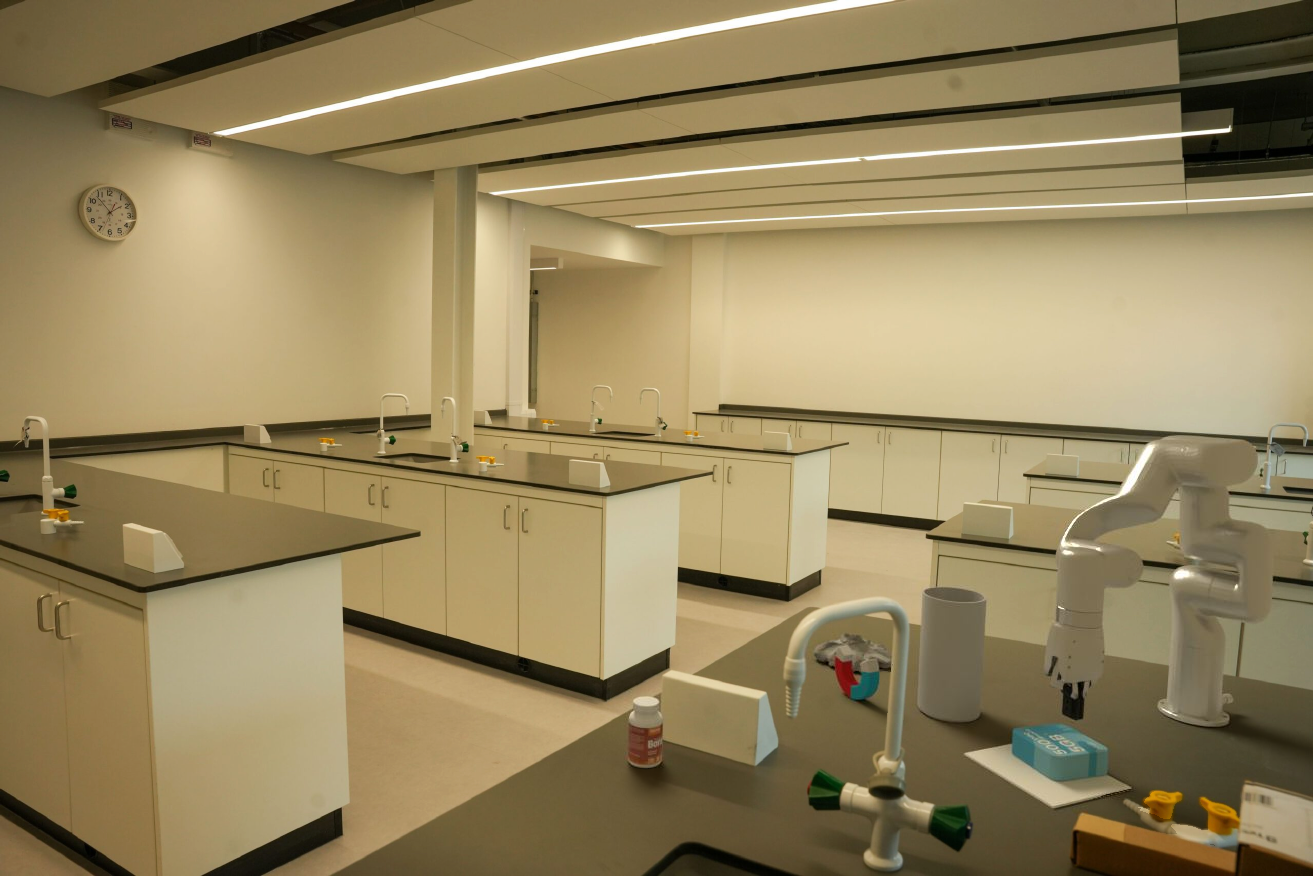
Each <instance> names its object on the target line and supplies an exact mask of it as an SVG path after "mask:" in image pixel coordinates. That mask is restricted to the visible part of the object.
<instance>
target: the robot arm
mask: <svg viewBox="0 0 1313 876" xmlns="http://www.w3.org/2000/svg"><path fill="white" fill-rule="evenodd" d="M1258 463H1259V456H1258V452H1257V451H1256V448H1255V445H1253V444H1252V443H1251V442H1249V441H1247V440H1245V439H1240V438H1239V439H1237V438H1223V437H1210V436H1200V435H1183V434H1182V435H1180V434H1179V435H1169V436H1165V437H1162V438H1161V439H1155V440H1152V441H1150V442H1147V443H1146V444H1145V445H1144V446H1143V448H1142V449H1141V451H1140V452H1139V454H1138V455H1137V458H1135V459H1134V462H1133V464H1132V466H1130V469H1129V471H1128V472H1127V474H1126V476H1125V478H1124V480H1123V481H1122V483H1121V485H1120V486H1119V488H1118V490H1117V491H1116V493H1115V494H1113V495H1111V496H1110V497H1107V498H1104V499H1103V500H1101V501H1099V502H1097V503H1095V504H1094V505H1092V506H1090V507H1089V508H1087V509H1085V510H1084V511H1082V512H1081V513H1080V514H1078V515H1077V516H1076V517H1075V518H1074V519H1073V520H1072V521H1071V523H1070V524H1069V526H1068V528H1067V529H1066V531H1065V532H1064V535H1062V538H1061V539H1060V541H1059V544H1058V546H1057V549H1056V552H1055V564H1056V568H1057V578H1056V595H1055V613H1054V622H1052V623H1051V625H1050V629H1049V632H1048V635H1047V636H1048V637H1047V641H1046V648H1045V654H1044V663H1043V664H1044V666H1043V672H1044V673H1043V674H1044V675H1045V676H1047V677H1050V682H1049V686H1050V687H1051V688H1053V689H1056V690H1059V691H1060V694H1061V695H1062V703H1061V705H1062V707H1061V714H1062V715H1063V716H1065V717H1067V718H1069V719H1071V720H1074V721H1080V720H1083V719H1084V713H1085V712H1084V711H1085V700H1086V699H1085V698H1088V697H1087V696H1088V694H1089V689H1090V687H1091V686H1093V685H1094V684H1096V683H1098V682H1099V681H1100V678H1101V677H1102V676H1103V673H1104V668H1105V655H1106V654H1105V651H1106V650H1105V648H1106V647H1105V635H1104V633H1105V632H1104V627H1103V615H1104V614H1103V613H1104V601H1105V589H1127V588H1130V587H1132V586H1134V585H1135V584H1137V583H1138V582H1139V581H1140V579H1141V578H1142V576H1143V572H1144V563H1143V560H1142V557H1141V556H1140V555H1139V554H1138V553H1137V552H1136V551H1135V550H1133V549H1131V548H1128V547H1125V546H1121V545H1116V544H1110V543H1106V542H1100V541H1096V540H1097V539H1098V538H1100V537H1101V536H1103V535H1105V534H1108V533H1110V532H1113V531H1116V530H1117V531H1118V530H1122V529H1126V528H1134V527H1137V526H1142V525H1148V524H1150V523H1154V522H1157V521H1159V519H1161V518H1162V517H1163V515H1164V514H1165V512H1166V510H1167V508H1168V506H1169V505H1170V503H1171V500H1172V499H1173V497H1174V495H1175V494H1176V492H1177V491H1178V494H1179V495H1178V496H1179V517H1178V518H1179V519H1178V522H1179V523H1178V524H1179V525H1178V541H1179V542H1178V543H1179V544H1178V545H1179V550H1180V552H1181V553H1182V555H1184V556H1185V557H1186V558H1189V559H1191V560H1195V561H1199V562H1204V563H1209V564H1215V565H1218V566H1225V567H1229V568H1234V569H1236V571H1237V572H1233V571H1229V570H1225V569H1218V568H1215V567H1214V568H1213V567H1209V566H1202V565H1195V564H1194V565H1193V564H1190V565H1183V566H1179V567H1177V568H1176V569H1175V570H1173V572H1172V573H1171V575H1170V577H1169V582H1168V591H1169V597H1170V604H1171V634H1170V647H1169V648H1170V649H1169V663H1168V664H1169V665H1168V679H1167V680H1168V681H1167V691H1166V692H1167V693H1166V698H1163V699H1160V700H1159V701H1158V702H1157V710H1159V712H1161V713H1162V714H1163V715H1164V716H1166V717H1168V718H1171V719H1173V720H1176V721H1179V722H1182V723H1185V724H1189V725H1194V726H1198V727H1199V726H1201V727H1212V728H1219V727H1224V726H1227V725H1228V724H1229V723H1230V715H1229V713H1227V712H1226V711H1224V710H1223V706H1224V705H1225V704H1231V703H1233V702H1234V696H1232V694H1230V693H1223V682H1224V670H1225V669H1224V666H1225V656H1226V655H1225V654H1226V645H1227V639H1226V633H1225V629H1224V628H1223V626H1222V624H1221V622H1220V621H1219V619H1218V618H1222V619H1225V620H1230V621H1235V622H1238V623H1243V624H1250V625H1251V624H1252V625H1254V624H1255V625H1256V624H1260V623H1262V622H1264V621H1265V620H1267V618H1268V616H1269V614H1270V611H1271V608H1272V607H1271V606H1272V600H1273V579H1274V555H1275V553H1274V551H1275V549H1274V541H1273V537H1272V534H1271V532H1270V531H1269V530H1268V529H1267V528H1266V527H1265V526H1264V525H1262V524H1259V523H1257V522H1253V521H1246V520H1239V519H1232V517H1231V516H1230V493H1229V490H1228V487H1232V486H1235V485H1240V484H1244V483H1245V482H1247V481H1249V480H1250V479H1251V478H1252V477H1253V476H1254V474H1255V473H1256V470H1257V468H1258Z"/></svg>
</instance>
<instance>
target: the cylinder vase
mask: <svg viewBox="0 0 1313 876" xmlns="http://www.w3.org/2000/svg"><path fill="white" fill-rule="evenodd" d="M921 596H922V597H921V617H920V637H919V638H920V641H919V658H918V659H919V661H918V679H917V680H918V681H917V682H918V685H917V686H918V687H917V703H916V704H917V707H918V709H919V710H920V711H921V712H922V713H923V714H924V713H925V714H924V715H926V716H928V717H931V718H933V719H935V720H939V721H942V722H943V721H944V722H947V723H956V722H957V724H958V723H962V722H963V723H970V722H973V721H976V720H977V719H978V718H980V717H981V711H982V696H983V695H982V693H983V678H984V677H983V673H984V653H985V652H984V651H985V637H986V636H985V635H986V633H985V632H986V617H987V615H986V614H987V596H986V595H985V594H983V593H981V592H978V591H975V590H971V589H967V588H961V587H953V586H933V587H927V588H924V589H922V595H921Z"/></svg>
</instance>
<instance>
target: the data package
mask: <svg viewBox="0 0 1313 876" xmlns="http://www.w3.org/2000/svg"><path fill="white" fill-rule="evenodd" d="M1011 740H1012V741H1011V744H1012V754H1013V755H1014V756H1016V757H1017V758H1019V759H1020V760H1022V761H1023V762H1025V763H1026V764H1028V765H1030V766H1031V767H1033V768H1034V769H1036V770H1037V771H1039V772H1040V773H1042V774H1043V775H1045V776H1046V777H1048V778H1049V779H1052V780H1055V781H1068V780H1075V779H1082V778H1090V777H1097V776H1104V775H1108V766H1109V749H1108V748H1107V747H1106V746H1105V745H1103V744H1101V743H1100V742H1097V741H1096V740H1095V739H1092V738H1090V737H1089V736H1087V735H1085V734H1083V733H1081V732H1079V731H1078V730H1076V729H1074V728H1072V727H1071V726H1069V725H1066V724H1064V723H1051V724H1041V725H1034V726H1033V725H1032V726H1024V727H1016V728H1013V730H1012V739H1011Z"/></svg>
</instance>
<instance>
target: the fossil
mask: <svg viewBox="0 0 1313 876" xmlns="http://www.w3.org/2000/svg"><path fill="white" fill-rule="evenodd" d="M846 645H848V646H849V647H850V649H851V650H852V652H853V653H854V656H853V660H852V671H853V673H856V672H855V671H859V672H858V673H861V666H860V663H862V662H864V661H866V660H871V659H877V661H878V665H879V669H884V670H885V668H886V669H888V668H891V667H892V666H891V657H893V656H892V655H891V653H890V652H889V651H888V650H887V648H886V646H885V645H884V644H882V643H880V644H876V643H873V642H872V641H871V639H869V638H866V639H863V638H862V635H860V634H848V633H844V634H841V635H840V638H839V639H831V640H830V641H825V642H823V643H820V644H818V645H816V646H815V649H814V651H813V655H814V657H815V658H816V659H817V660H818V661H819V662H821V663H822V662H823V664H826V663H827V662H828V666H829V667H831V668H833V667H834V668H835V656H836V652H837V649H838V647H840V646H846ZM832 666H833V667H832ZM890 666H891V667H890Z"/></svg>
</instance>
